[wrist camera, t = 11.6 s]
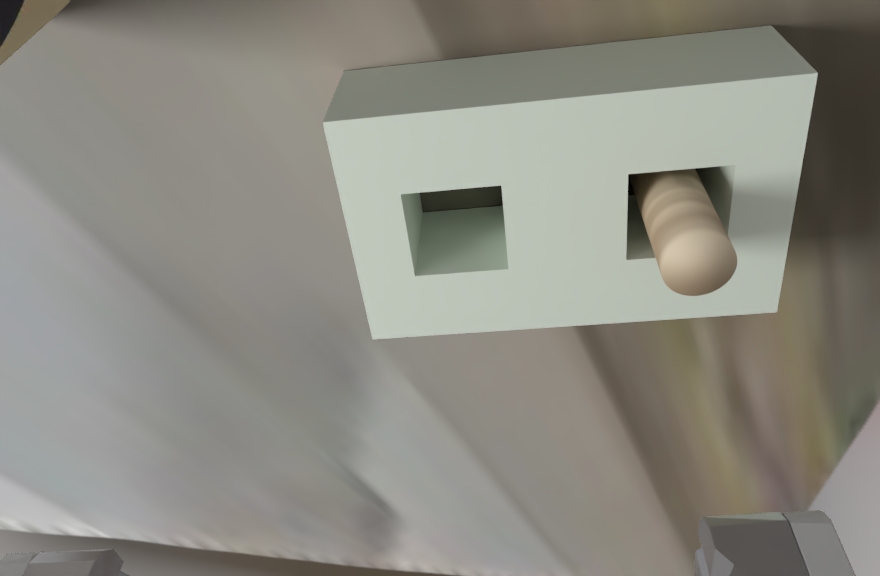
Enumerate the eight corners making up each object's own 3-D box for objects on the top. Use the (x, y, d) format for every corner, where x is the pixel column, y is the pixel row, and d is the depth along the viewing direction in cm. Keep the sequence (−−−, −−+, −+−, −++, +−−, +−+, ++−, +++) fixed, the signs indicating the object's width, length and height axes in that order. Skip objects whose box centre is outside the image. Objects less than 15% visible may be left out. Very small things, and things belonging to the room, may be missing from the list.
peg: (624, 130, 38) (662, 238, 30) (685, 125, 38) (741, 232, 30) (623, 183, 40) (659, 298, 32) (681, 178, 39) (733, 293, 31)
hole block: (343, 71, 37) (322, 122, 32) (771, 25, 35) (818, 72, 30) (384, 272, 44) (372, 339, 39) (742, 244, 42) (776, 312, 37)
